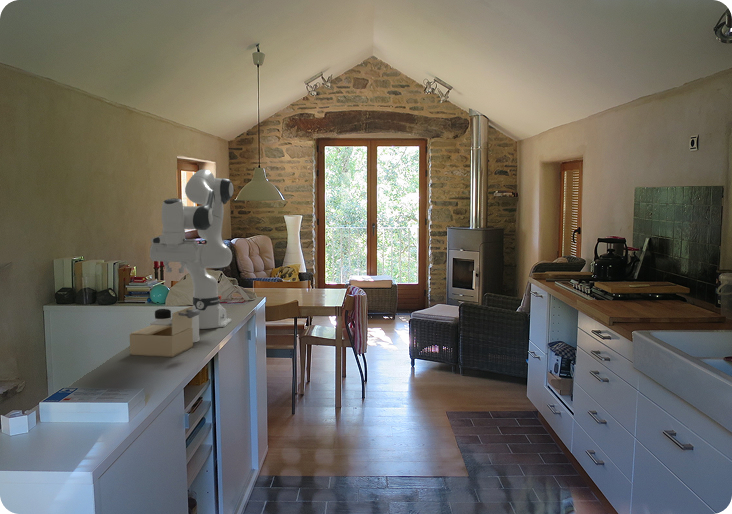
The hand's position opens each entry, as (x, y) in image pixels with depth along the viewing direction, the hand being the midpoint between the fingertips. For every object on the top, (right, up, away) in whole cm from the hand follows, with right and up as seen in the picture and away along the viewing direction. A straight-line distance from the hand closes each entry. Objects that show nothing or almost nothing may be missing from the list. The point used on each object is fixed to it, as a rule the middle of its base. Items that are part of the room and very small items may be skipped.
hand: (175, 272), depth 237 cm
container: (-10, -29, +14) cm, 34 cm away
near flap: (+6, -19, -9) cm, 21 cm away
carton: (-3, -31, -6) cm, 32 cm away
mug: (+3, -30, +9) cm, 31 cm away
